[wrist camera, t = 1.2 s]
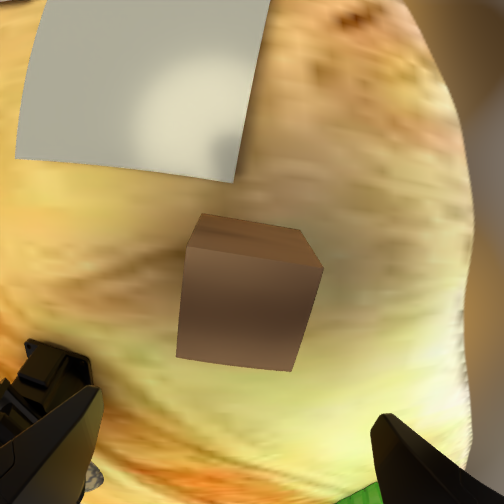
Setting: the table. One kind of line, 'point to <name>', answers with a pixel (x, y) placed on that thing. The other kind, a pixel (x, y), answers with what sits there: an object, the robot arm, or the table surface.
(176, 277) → the table surface
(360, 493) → the fruit basket
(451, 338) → the table surface
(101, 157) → the tile
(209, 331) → the cube
